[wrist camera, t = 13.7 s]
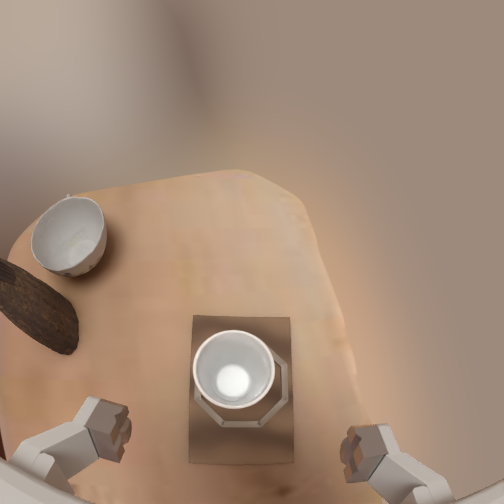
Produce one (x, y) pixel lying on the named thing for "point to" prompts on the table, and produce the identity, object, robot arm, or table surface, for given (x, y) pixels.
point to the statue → (37, 309)
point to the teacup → (70, 237)
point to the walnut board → (251, 418)
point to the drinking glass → (233, 369)
